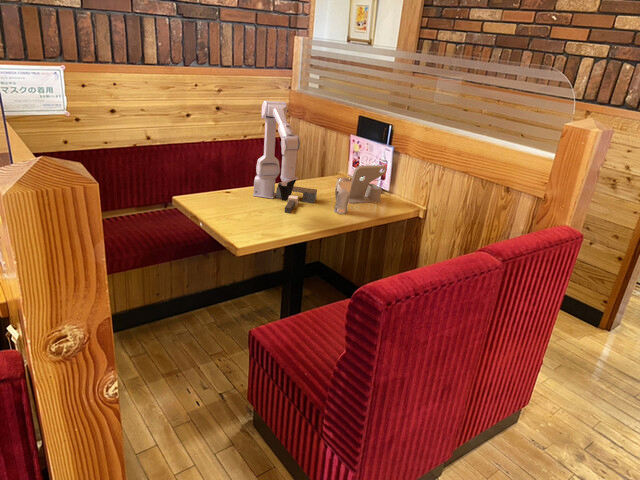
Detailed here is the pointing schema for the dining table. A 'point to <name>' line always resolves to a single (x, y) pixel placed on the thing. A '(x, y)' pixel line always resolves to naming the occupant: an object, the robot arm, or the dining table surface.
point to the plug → (291, 203)
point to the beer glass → (342, 194)
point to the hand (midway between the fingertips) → (286, 197)
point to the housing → (308, 193)
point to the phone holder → (366, 184)
